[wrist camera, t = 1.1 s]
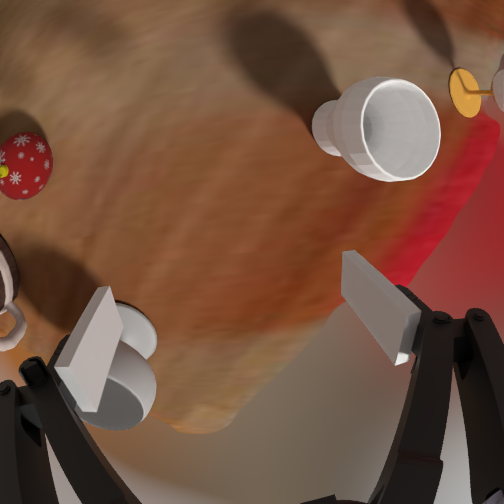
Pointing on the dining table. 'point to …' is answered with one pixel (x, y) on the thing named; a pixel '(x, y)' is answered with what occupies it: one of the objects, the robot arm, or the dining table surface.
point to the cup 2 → (473, 92)
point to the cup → (380, 128)
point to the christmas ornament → (24, 165)
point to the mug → (10, 297)
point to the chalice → (127, 376)
